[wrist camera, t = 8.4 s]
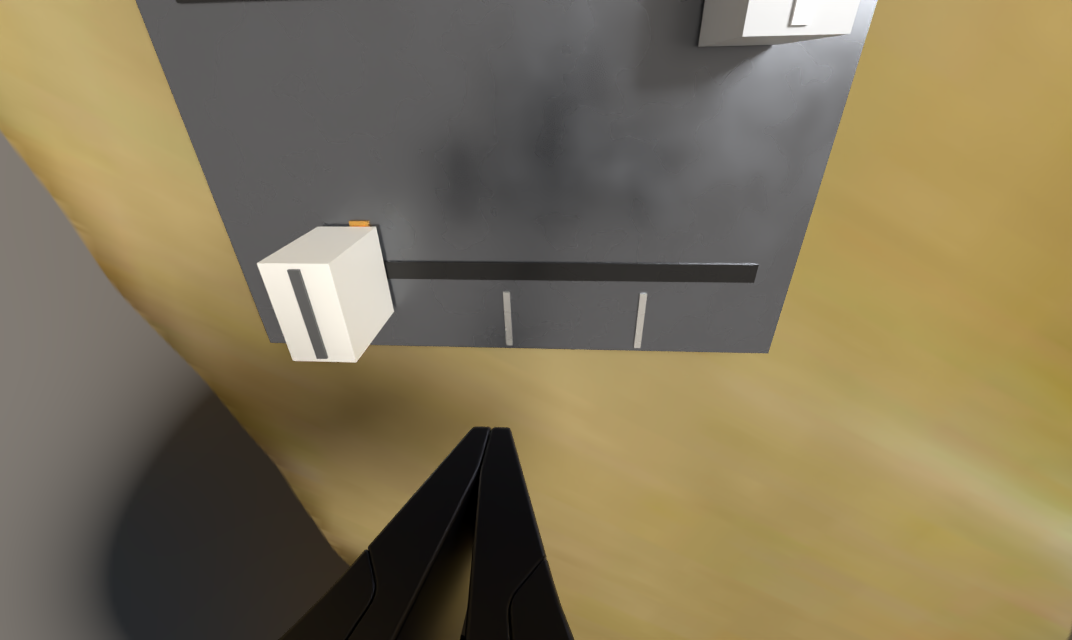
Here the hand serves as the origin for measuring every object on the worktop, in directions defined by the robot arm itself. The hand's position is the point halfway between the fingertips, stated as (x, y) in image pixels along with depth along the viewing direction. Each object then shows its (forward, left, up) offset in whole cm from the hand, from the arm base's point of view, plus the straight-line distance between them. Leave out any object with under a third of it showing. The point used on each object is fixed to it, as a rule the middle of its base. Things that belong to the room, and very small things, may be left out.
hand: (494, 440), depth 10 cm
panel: (+5, +1, -12) cm, 13 cm away
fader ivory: (0, +7, -10) cm, 12 cm away
